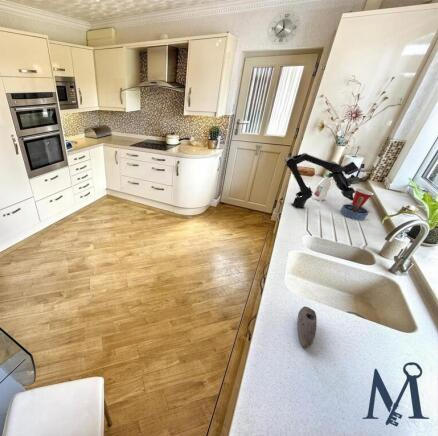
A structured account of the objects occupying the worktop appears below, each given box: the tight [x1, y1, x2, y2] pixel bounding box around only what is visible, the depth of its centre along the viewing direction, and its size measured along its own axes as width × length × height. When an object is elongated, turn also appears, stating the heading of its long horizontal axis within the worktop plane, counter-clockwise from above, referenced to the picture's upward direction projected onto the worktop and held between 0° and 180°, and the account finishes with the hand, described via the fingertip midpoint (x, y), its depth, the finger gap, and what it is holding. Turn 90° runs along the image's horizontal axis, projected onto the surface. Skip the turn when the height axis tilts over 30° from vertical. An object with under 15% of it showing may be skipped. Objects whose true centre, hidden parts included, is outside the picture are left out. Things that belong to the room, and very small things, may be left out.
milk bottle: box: [312, 173, 333, 202], centre depth 178 cm, size 8×8×20 cm
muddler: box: [352, 197, 364, 213], centre depth 157 cm, size 4×4×13 cm
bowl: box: [339, 203, 370, 221], centre depth 159 cm, size 14×14×5 cm
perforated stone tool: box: [296, 305, 318, 350], centre depth 79 cm, size 15×5×7 cm, turn 147°
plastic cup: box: [351, 187, 375, 207], centre depth 172 cm, size 11×11×12 cm
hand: (350, 197), depth 156 cm, fingers open, 9 cm apart
